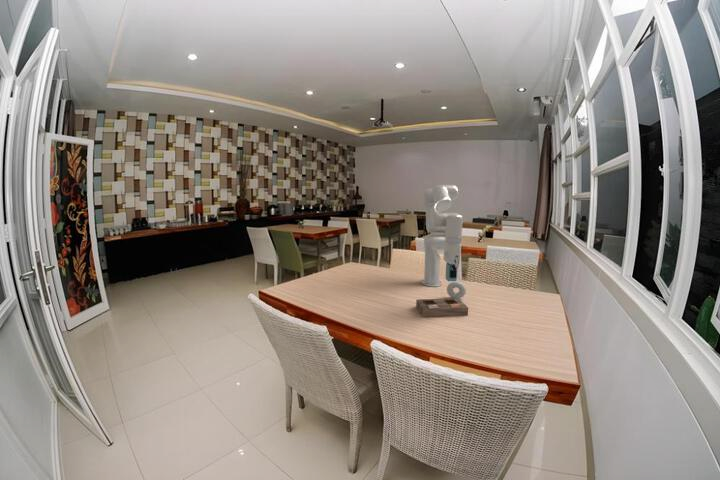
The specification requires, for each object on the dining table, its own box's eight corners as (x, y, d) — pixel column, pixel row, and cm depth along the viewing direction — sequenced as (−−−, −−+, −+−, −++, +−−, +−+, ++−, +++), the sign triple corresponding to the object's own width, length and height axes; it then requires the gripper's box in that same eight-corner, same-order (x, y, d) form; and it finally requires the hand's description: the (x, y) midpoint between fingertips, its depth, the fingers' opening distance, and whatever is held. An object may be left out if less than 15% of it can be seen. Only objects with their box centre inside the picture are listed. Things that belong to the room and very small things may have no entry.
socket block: (416, 306, 147) (416, 299, 147) (457, 305, 149) (457, 297, 148) (423, 317, 136) (423, 308, 135) (467, 315, 137) (468, 306, 137)
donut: (446, 298, 158) (447, 281, 157) (446, 296, 162) (447, 279, 160) (465, 301, 155) (466, 283, 153) (465, 298, 158) (466, 281, 156)
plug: (445, 278, 144) (446, 263, 142) (453, 278, 144) (454, 263, 143) (448, 281, 140) (449, 265, 138) (456, 281, 140) (457, 265, 139)
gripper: (439, 237, 146) (438, 271, 149) (452, 243, 130) (450, 281, 133) (453, 237, 147) (452, 271, 150) (468, 242, 130) (466, 281, 134)
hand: (451, 275), depth 141 cm, fingers closed on plug, 4 cm apart
